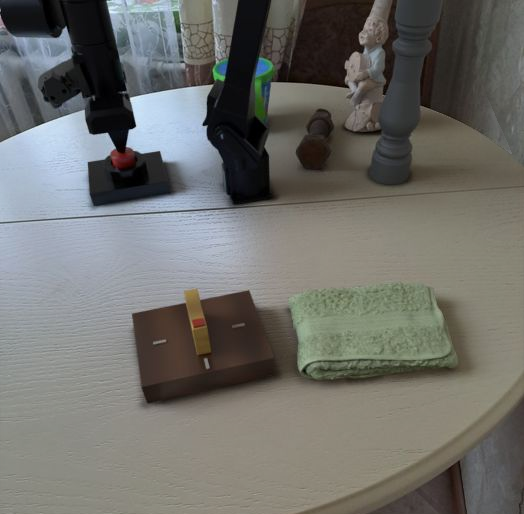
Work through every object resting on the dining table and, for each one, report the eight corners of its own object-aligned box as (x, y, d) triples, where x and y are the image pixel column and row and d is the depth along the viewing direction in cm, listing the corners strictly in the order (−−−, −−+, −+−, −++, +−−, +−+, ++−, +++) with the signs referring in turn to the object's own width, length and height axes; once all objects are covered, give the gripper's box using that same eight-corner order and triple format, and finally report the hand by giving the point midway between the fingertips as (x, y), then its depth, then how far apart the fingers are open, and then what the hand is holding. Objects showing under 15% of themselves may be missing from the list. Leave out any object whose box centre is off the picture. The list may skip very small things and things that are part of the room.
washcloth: (461, 374, 54) (469, 355, 52) (299, 387, 54) (300, 368, 51) (425, 292, 63) (431, 272, 60) (286, 303, 62) (286, 283, 60)
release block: (162, 162, 85) (158, 140, 82) (170, 193, 79) (166, 170, 76) (91, 174, 84) (84, 151, 81) (93, 206, 77) (86, 183, 74)
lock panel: (250, 307, 62) (249, 288, 59) (274, 375, 55) (274, 356, 53) (137, 330, 60) (131, 312, 57) (147, 404, 53) (140, 386, 50)
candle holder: (365, 180, 80) (391, -6, 61) (374, 161, 84) (402, -19, 65) (404, 187, 78) (443, -1, 59) (411, 168, 82) (451, -15, 63)
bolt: (325, 136, 93) (315, 176, 83) (302, 121, 92) (290, 160, 82) (343, 109, 89) (336, 148, 79) (319, 93, 88) (309, 130, 78)
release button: (134, 155, 80) (132, 145, 79) (137, 166, 78) (134, 156, 76) (112, 159, 80) (109, 148, 78) (113, 170, 77) (110, 159, 76)
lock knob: (188, 316, 57) (183, 289, 54) (201, 314, 57) (196, 286, 54) (197, 355, 53) (192, 328, 50) (211, 352, 53) (206, 325, 50)
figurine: (373, 111, 96) (391, -14, 81) (398, 129, 91) (422, -1, 76) (333, 121, 94) (343, -6, 79) (356, 140, 89) (372, 8, 73)
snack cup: (212, 110, 98) (206, 53, 90) (264, 104, 99) (263, 47, 92) (225, 148, 88) (220, 88, 80) (283, 140, 89) (284, 80, 82)
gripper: (31, 23, 70) (68, 132, 82) (25, 72, 58) (68, 192, 70) (111, 14, 72) (136, 122, 84) (121, 60, 60) (148, 179, 72)
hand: (121, 151), depth 77 cm, fingers closed
